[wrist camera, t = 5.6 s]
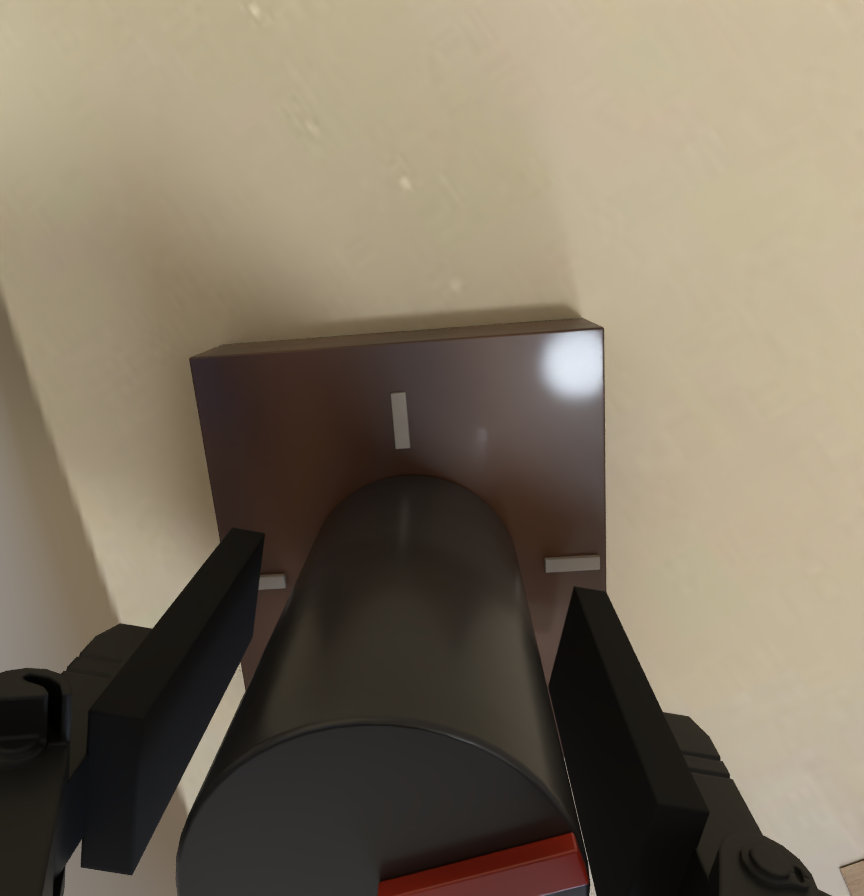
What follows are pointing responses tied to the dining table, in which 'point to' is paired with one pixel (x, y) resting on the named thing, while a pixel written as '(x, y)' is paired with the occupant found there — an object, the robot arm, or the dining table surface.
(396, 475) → the dimmer panel
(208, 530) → the dining table surface
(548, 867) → the dimmer knob
